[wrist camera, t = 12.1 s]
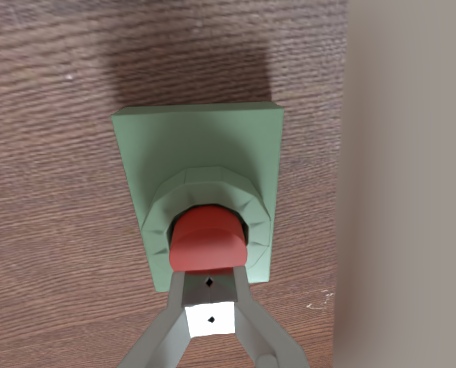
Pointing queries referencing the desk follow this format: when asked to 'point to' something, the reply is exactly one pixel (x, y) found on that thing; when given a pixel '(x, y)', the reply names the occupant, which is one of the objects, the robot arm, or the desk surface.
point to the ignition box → (202, 173)
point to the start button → (207, 240)
